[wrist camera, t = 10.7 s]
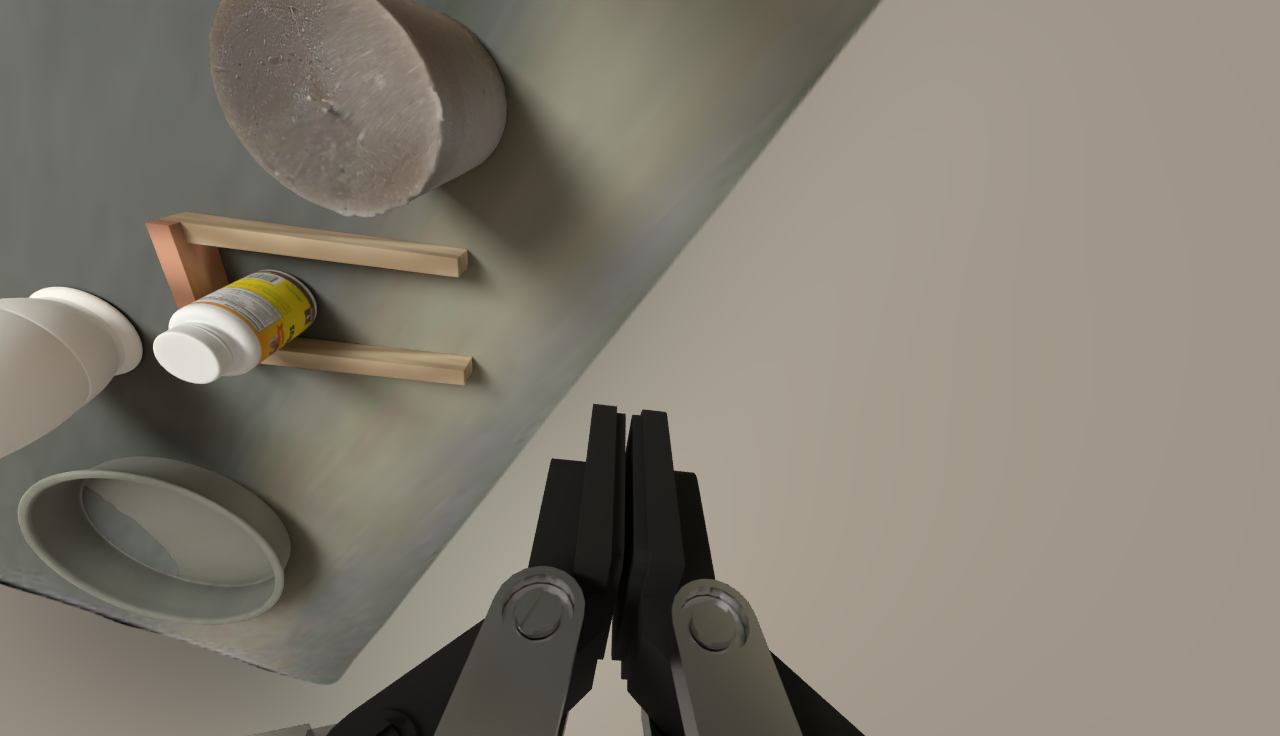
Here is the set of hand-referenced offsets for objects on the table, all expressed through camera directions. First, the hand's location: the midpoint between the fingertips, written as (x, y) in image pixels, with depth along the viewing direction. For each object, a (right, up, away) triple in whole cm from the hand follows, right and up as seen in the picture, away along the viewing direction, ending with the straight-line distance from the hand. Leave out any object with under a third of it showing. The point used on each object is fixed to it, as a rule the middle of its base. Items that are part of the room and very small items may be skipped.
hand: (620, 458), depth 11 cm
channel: (-25, +8, +28) cm, 38 cm away
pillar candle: (-13, +21, +22) cm, 33 cm away
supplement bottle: (-29, +8, +28) cm, 42 cm away
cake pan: (-51, -16, +42) cm, 68 cm away
